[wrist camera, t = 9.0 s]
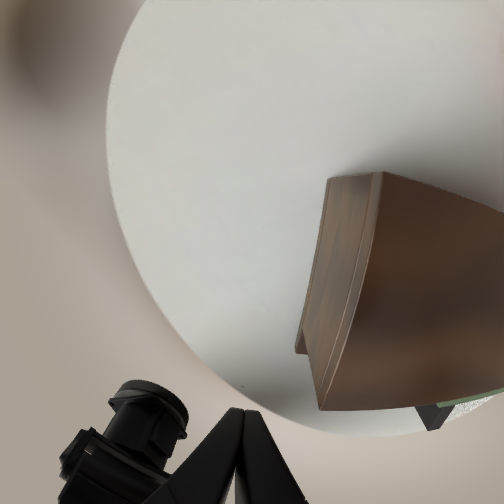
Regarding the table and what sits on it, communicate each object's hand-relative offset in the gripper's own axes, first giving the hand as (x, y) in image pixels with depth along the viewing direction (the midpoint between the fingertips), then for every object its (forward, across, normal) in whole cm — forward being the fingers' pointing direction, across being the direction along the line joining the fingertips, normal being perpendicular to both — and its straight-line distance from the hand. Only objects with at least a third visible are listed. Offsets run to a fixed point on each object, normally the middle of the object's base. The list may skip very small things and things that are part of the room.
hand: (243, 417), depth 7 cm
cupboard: (+12, -12, -1) cm, 17 cm away
